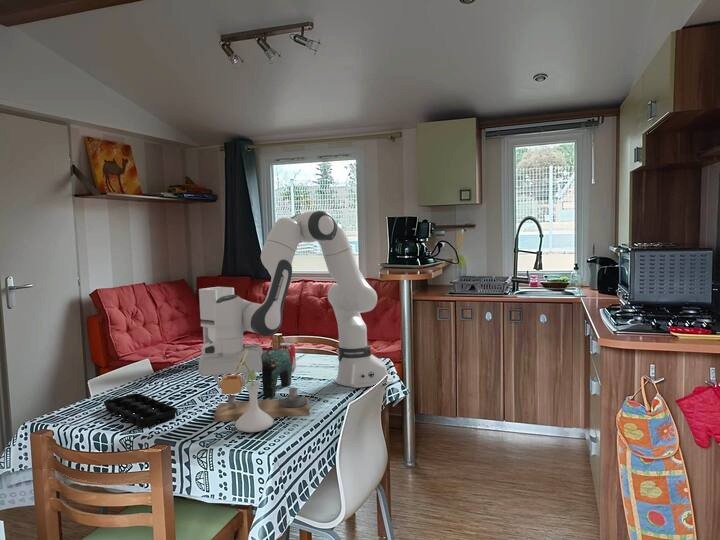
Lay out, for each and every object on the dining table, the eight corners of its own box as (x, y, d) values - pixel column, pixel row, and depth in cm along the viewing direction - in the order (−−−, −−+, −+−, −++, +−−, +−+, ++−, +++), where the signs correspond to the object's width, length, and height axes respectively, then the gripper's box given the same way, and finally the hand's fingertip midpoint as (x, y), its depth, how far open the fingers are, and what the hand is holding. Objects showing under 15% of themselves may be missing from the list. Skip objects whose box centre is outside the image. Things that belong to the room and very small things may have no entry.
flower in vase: (247, 420, 162) (243, 342, 160) (280, 423, 159) (277, 343, 157) (225, 436, 150) (221, 352, 148) (260, 439, 146) (256, 353, 145)
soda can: (298, 371, 219) (297, 343, 219) (283, 374, 215) (282, 346, 215) (291, 368, 225) (290, 341, 224) (276, 370, 221) (275, 343, 220)
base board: (308, 402, 178) (307, 382, 177) (309, 414, 166) (308, 393, 165) (219, 409, 174) (218, 388, 173) (214, 421, 162) (213, 400, 161)
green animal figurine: (272, 400, 182) (270, 344, 180) (256, 399, 184) (254, 343, 182) (295, 384, 201) (293, 333, 199) (280, 383, 202) (278, 333, 201)
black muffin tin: (133, 401, 186) (132, 391, 185) (192, 413, 171) (191, 402, 171) (87, 417, 170) (86, 406, 170) (147, 432, 156) (147, 420, 156)
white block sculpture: (202, 364, 236) (198, 289, 233) (220, 359, 244) (217, 286, 242) (219, 367, 229) (215, 290, 227) (237, 362, 238) (234, 287, 235)
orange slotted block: (242, 387, 171) (241, 374, 171) (240, 392, 165) (240, 379, 165) (224, 388, 171) (223, 375, 170) (221, 394, 165) (221, 380, 164)
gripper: (262, 341, 171) (264, 381, 172) (199, 345, 169) (202, 386, 170) (261, 345, 165) (263, 387, 166) (196, 349, 162) (198, 392, 163)
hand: (232, 386), depth 168 cm, fingers closed on orange slotted block, 6 cm apart
